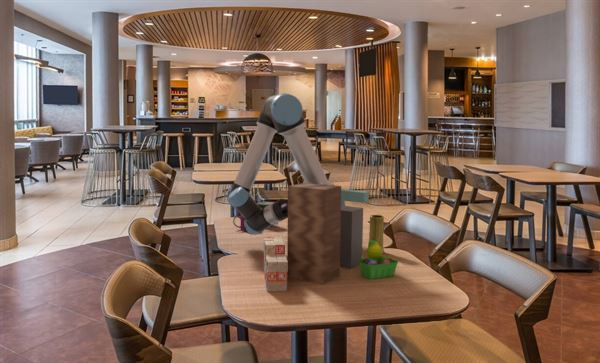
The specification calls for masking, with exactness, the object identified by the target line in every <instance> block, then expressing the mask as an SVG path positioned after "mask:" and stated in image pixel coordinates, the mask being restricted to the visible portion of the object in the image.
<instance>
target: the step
mask: <svg viewBox="0 0 600 363" xmlns="http://www.w3.org/2000/svg"><path fill="white" fill-rule="evenodd" d="M363 232H364V207H358V206H349V205H345V206H342V205H341V228H340V268H347V269H353V268H355V267H357V266H359V265H360V263H359V260H361V259H363V241H364V240H363V238H364V237H363V236H364V233H363Z"/></svg>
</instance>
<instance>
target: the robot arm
mask: <svg viewBox="0 0 600 363" xmlns="http://www.w3.org/2000/svg"><path fill="white" fill-rule="evenodd" d="M303 110H304V108H303V104H302V103H301V101H300V99H299V98H297V97H296V96H295V95H292V94H290V93H281V94H273V95H271V96H269V97H268V98H267V99H266V100H265V101H264V103H263V105H262V107H261V110H260V113H259V116H258V118H257V121H256V125H257V126H256V129H255V132H254V134H253V136H252V139H251V141H250V143H249V146H248V148H247V151H246V153H245V155H244V158H243V160H242V163H241V165H240V168H239V169H238V172H237V175H236V177H235V179H234V182H233V184H232V187H231V188H230V189H229V190H228V191H227V193H226V200H227V202H228V204H229V205H230V206H231V207H233V208H234V209H235V210H236V211H237V212H238V213H239V215H240V216H241V215H242V216H243V217H244V218H245V221H244V226H245V227H246V230H247V231H246V232H247V233H249V234H250V235H257V234H259V233H262V232H264V231H265V230H267V229H269V228H272V227H271V226H273V225H276V226H278V225H279V223H280V222H282V221H283V220H286V219H288V199H284V198H279V199H278V200H276V201H275V202H274V201H273V202H274V203H272V204H271V205H269V206H267V207H265V208H264V209H261V207H260V206H259V205H258V202H256V201H255V198H253V197H252V195H251V194H250V193H251V190H252V188H253V186H254V183H255V181H256V179H257V176H258V175H259V172H260V169H261V167H262V165H263V162H264V159H265V157H266V156H267V154H268V153H267V152H268V150H269V149H270V146H271V143H272V142H273V139H274V137H275V136H274V135H275V134H276V133H277V134H278V135H281V136H282V137H284V140H285V142H286V144H287V146H288V149H289V151H290V153H291V155H292V158H293V159H294V161H295V164H296V167H297V168H298V170H299V172H300V175H301V176H302V178H303V181H304V183H311V184H322V185H334V186H335V184H334V182H332V181H331V180H330V181H329V180H328V178H327V176H326V173H325V172H324V170H323V167H322V164H321V163H320V161H319V158H318V156H317V154H316V151H315V149H314V147H313V145H312V143H311V140H310V138H309V136H308V133H307V131H306V129H305V123H306V120H305V118H304V115H303V112H304V111H303ZM341 205H342V206H346V201H342V200H341Z"/></svg>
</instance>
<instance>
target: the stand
mask: <svg viewBox="0 0 600 363" xmlns="http://www.w3.org/2000/svg"><path fill="white" fill-rule="evenodd" d="M341 189H342V185H335V184H334V185H322V184H311V183H305V182H302V183H296V184H292V185H288V186H287V200H288V218H287V243H286V244H287V248H286V249H287V252H286V254H287V256H286V258H287V261H288V271H287V278H290V279H295V280H299V279H300V281H304V282H309V283H315V284H320V285H327V284H329V283H331V282H332V281H334V280H336V279H337V278H340V276H341V275H340V274H341V272H340V271H341V267H340V228H341Z"/></svg>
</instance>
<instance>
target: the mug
mask: <svg viewBox="0 0 600 363" xmlns="http://www.w3.org/2000/svg"><path fill="white" fill-rule="evenodd" d="M237 218H238V219H240V226H239V225H237V224H235V223H236V222H235V220H236V219H237ZM244 221H245V218H244V217H243V216H242V215H241V214H240V216H238V215H237V216H234V218H233V222H232V223H233V225H234V227H236V228H239V229H240V231H243V232H248V231H247V230H246V227H245V226H244Z"/></svg>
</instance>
